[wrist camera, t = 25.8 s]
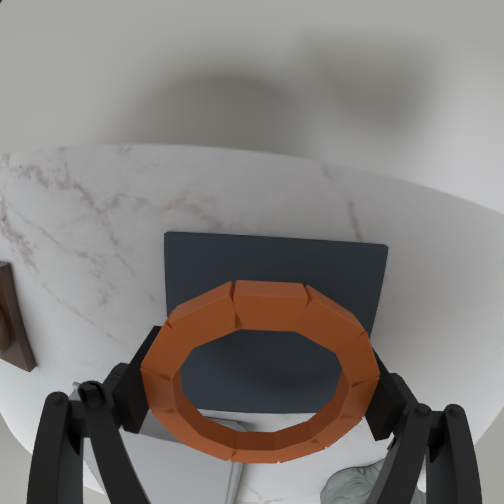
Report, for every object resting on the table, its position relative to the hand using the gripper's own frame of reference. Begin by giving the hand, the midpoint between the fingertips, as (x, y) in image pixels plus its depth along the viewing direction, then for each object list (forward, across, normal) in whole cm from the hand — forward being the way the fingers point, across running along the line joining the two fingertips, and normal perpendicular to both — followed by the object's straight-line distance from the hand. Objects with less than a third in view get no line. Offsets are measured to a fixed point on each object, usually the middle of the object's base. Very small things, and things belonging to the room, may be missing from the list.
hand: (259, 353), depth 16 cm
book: (+4, -10, -22) cm, 24 cm away
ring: (-3, 0, 0) cm, 3 cm away
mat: (+3, +1, -1) cm, 4 cm away
